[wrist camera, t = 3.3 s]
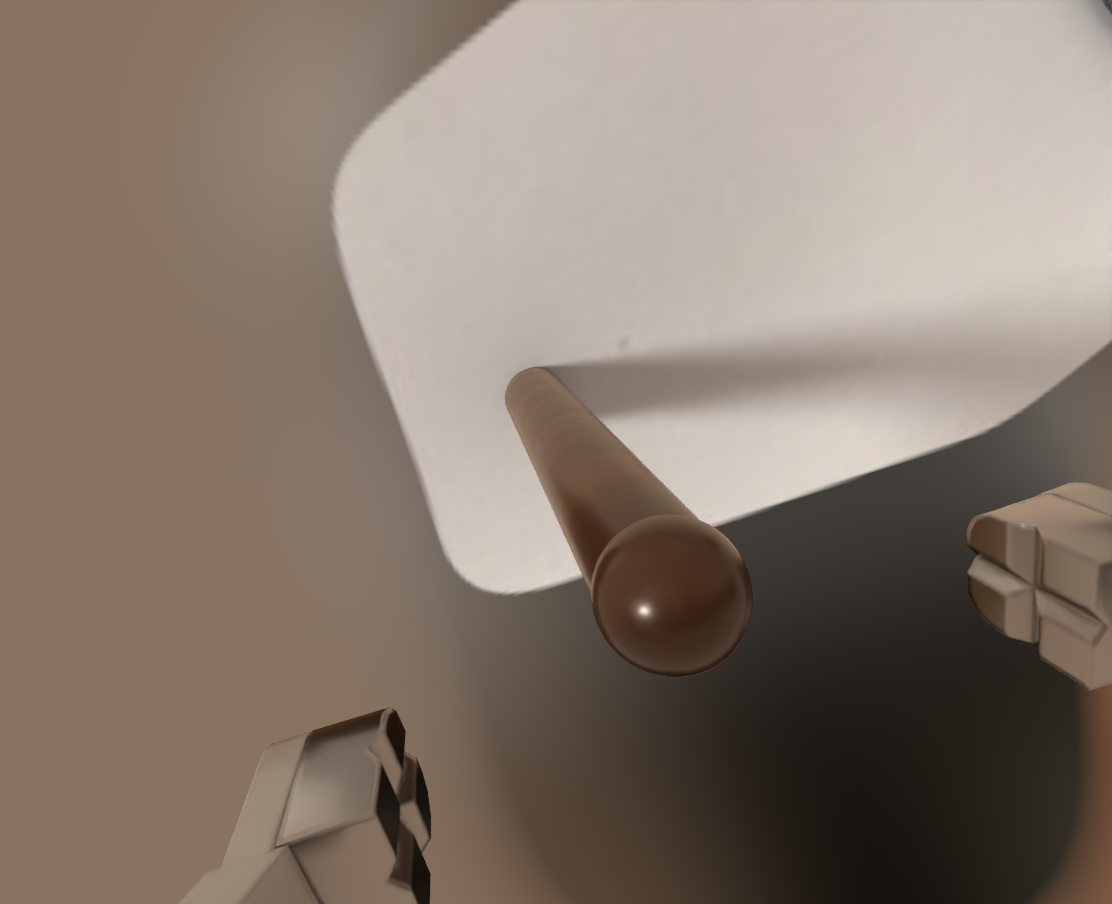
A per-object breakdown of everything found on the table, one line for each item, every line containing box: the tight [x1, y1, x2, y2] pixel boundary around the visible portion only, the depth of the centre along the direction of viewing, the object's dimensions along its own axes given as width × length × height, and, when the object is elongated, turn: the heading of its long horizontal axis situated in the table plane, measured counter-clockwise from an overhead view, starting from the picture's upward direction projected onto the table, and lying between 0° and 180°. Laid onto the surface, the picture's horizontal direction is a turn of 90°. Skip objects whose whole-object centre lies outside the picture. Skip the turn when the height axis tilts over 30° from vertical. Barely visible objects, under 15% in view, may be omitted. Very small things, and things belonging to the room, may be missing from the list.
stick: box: [505, 368, 753, 677], centre depth 15 cm, size 2×2×15 cm
